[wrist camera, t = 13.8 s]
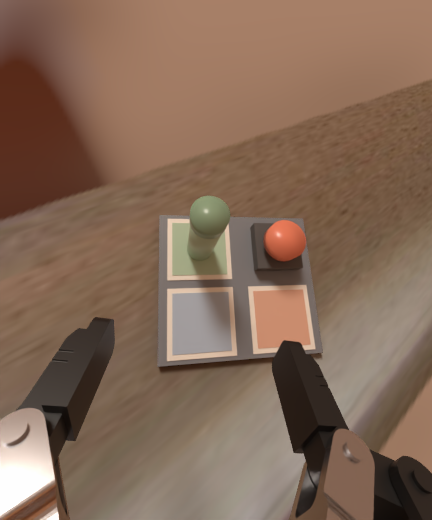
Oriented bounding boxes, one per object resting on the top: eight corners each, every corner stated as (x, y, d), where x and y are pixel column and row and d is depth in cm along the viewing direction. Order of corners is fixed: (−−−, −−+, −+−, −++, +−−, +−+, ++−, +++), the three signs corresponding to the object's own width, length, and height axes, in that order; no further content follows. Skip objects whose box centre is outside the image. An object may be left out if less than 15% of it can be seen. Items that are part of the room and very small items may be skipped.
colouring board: (158, 365, 25) (156, 370, 23) (160, 217, 30) (158, 209, 27) (319, 351, 29) (331, 354, 26) (299, 221, 33) (309, 213, 31)
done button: (261, 264, 28) (270, 258, 25) (257, 228, 29) (265, 219, 26) (296, 263, 29) (308, 258, 26) (291, 229, 30) (303, 220, 27)
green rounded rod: (186, 261, 28) (190, 232, 18) (186, 235, 28) (189, 194, 19) (213, 261, 28) (231, 233, 19) (212, 235, 29) (229, 196, 19)
